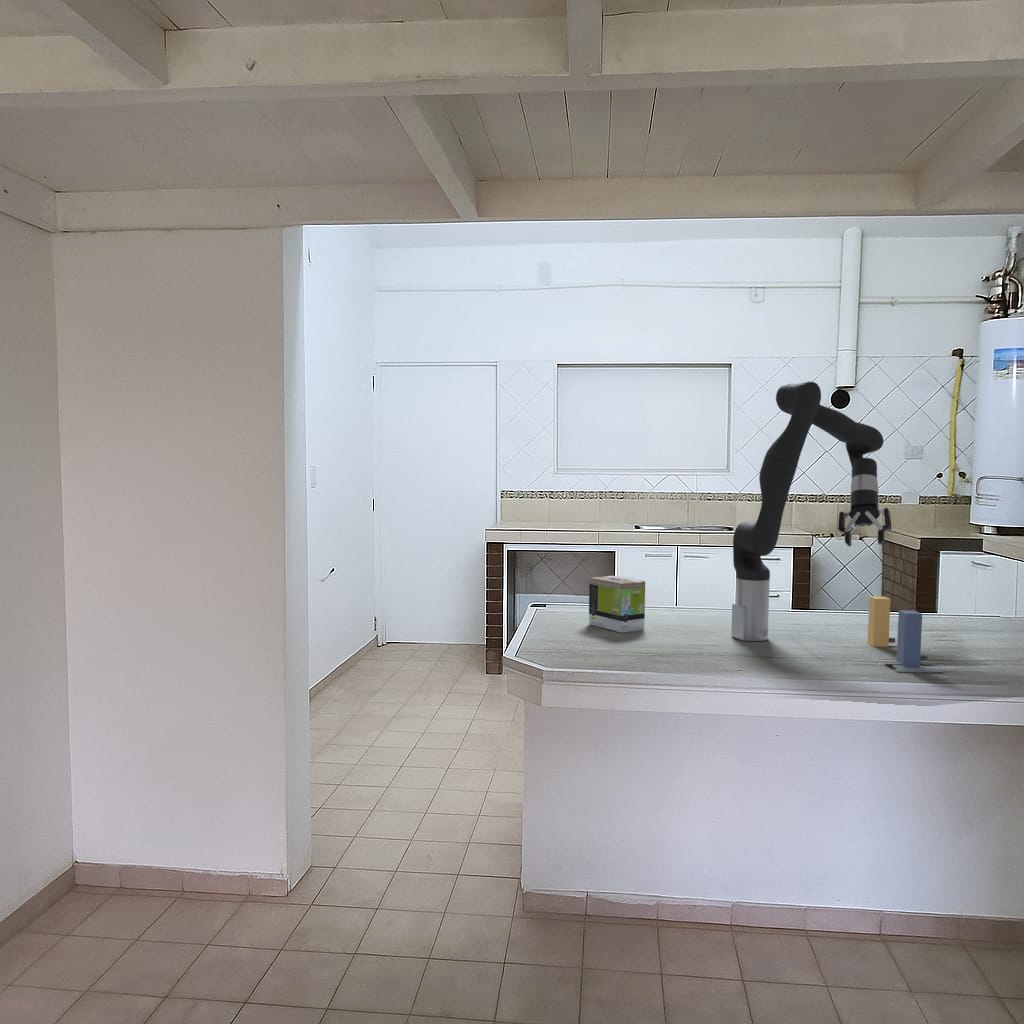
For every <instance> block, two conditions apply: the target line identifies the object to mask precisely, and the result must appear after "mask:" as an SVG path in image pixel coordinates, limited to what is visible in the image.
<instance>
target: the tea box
mask: <svg viewBox="0 0 1024 1024" xmlns="http://www.w3.org/2000/svg"><path fill="white" fill-rule="evenodd" d="M588 579H589V580H588V581H589V586H588V587H589V588H588V591H589V592H588V624H589V625H591V626H594V627H598V628H603V629H606V630H610V631H613V632H618V633H629V632H630V631H631V632H637V630H638V631H643V630H644V629H645V619H646V617H645V616H646V615H645V614H646V613H645V612H646V581H645V580H641V579H639V580H638V579H634V578H628V577H622V576H616V575H607V576H593V577H589V578H588Z"/></svg>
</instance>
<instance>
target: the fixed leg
mask: <svg viewBox="0 0 1024 1024" xmlns="http://www.w3.org/2000/svg"><path fill="white" fill-rule="evenodd" d="M922 627H923V613H921V612H919V611H916V610H898V619H897V642H896V644H897V645H896V662H897V663H898V664H901V665H903V666H920V665H921V661H926V662H927V661H928V655H926V654H921V652H922V650H921V649H922V648H921V647H922V646H921V645H922V632H923V630H922Z"/></svg>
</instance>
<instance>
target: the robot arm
mask: <svg viewBox="0 0 1024 1024" xmlns="http://www.w3.org/2000/svg"><path fill="white" fill-rule="evenodd" d="M821 391H822V390H821V388H820V386H819V384H818V383H817V382H816V381H815V382H814V381H790V382H787V383H786V382H785V383H783V384H782V385H781V386H779V388H778V389H777V391H776V394H775V400H776V402H775V403H776V405H777V407H778V409H779V410H780V411H782V412H783V413H785V414H787V415H790V419H789V421H788V423H787V425H786V427H785V429H784V430H783V431H782V433H780V434H779V436H778V437H777V438H776V439H775V440H774V441H773V443H771V445H770V447H769V448H768V449H767V450H766V452H765V454H764V455H765V456H764V457H763V461H762V464H761V467H760V470H759V476H758V479H759V489H760V493H761V494H760V495H761V506H760V510H759V514H758V517H757V520H756V521H750V520H747V521H743V522H740V523H739V524H738V525H737V526H736V528H735V530H734V533H733V536H732V537H733V539H732V548H733V549H732V553H733V554H732V556H733V560H732V561H733V563H732V564H733V568H734V570H735V597H734V598H735V599H734V601H735V602H734V603H732V604H731V605H732V607H731V637H733V638H734V639H737V640H740V641H743V642H745V641H746V642H764V641H767V640H768V638H769V614H770V613H769V612H770V611H769V610H770V609H769V608H770V586H771V585H770V584H771V581H770V579H771V571H770V569H769V567H767V565H765V564H764V562H763V560H762V558H761V557H765V556H766V557H767V556H768V555H770V554H771V553H772V552H773V551H774V549H775V547H776V545H777V542H778V540H779V537H780V536H779V535H780V532H781V531H780V530H781V525H782V520H783V519H782V518H783V515H784V511H785V506H786V503H787V500H788V496H789V493H790V489H791V486H792V484H793V483H792V482H793V481H794V478H795V474H796V470H797V469H798V468H797V467H798V465H799V461H800V456H801V454H802V450H803V448H804V445H805V442H806V440H807V437H808V433H809V431H810V428H811V426H812V425H814V426H815V427H817V428H819V429H820V430H823V431H824V432H825V433H827V434H829V435H830V436H832V437H833V438H835V439H837V440H838V441H840V442H841V443H844V444H845V450H846V453H847V455H848V458H849V462H850V466H851V482H850V510H849V512H843V511H839V514H838V526H837V530H838V531H839V532H840V533H841V534H844V543H845V544H846V545H847V547H852V533H853V531H854V530H856V529H857V528H858V526H859V527H865V526H867V527H871V526H872V525H874V526H875V528H877V544H878V545H879V546H880V545H883V544H884V543H885V541H886V540H885V532H886V531H891V530H892V528H893V527H892V516H891V511H890V510H889V508H887V507H885V508H884V509H881V510H880V509H879V484H878V464H877V461H876V460H875V459H873V458H870V457H864V455H866V454H871V453H874V452H877V451H880V449H881V448H883V445H884V436H883V435H882V433H881V432H880V431H879V430H878V429H877V428H875V427H873V426H871V425H868V424H864V423H861V422H858V421H855V420H853V419H852V418H850V417H849V416H848V415H847V414H845V413H843V412H840V411H839V410H836V409H834V408H830V407H828V406H824V405H822V404H821V401H822V392H821ZM880 515H881V516H882V517H883V518H884V525H882V524H881V523H880V522H879V521H878V518H879V517H880ZM848 518H850V521H849V523H848V524H847V526H846V521H847V520H848Z"/></svg>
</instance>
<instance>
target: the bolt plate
mask: <svg viewBox="0 0 1024 1024" xmlns="http://www.w3.org/2000/svg"><path fill="white" fill-rule="evenodd" d="M884 665H885V666H887V667H888V668H889V669H891V670H893V671H894V672H895V673H932V672H942V673H943V668H942V667H940V666H939V665H937V664H920V666H903V665H901V664H900V663H884Z"/></svg>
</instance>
